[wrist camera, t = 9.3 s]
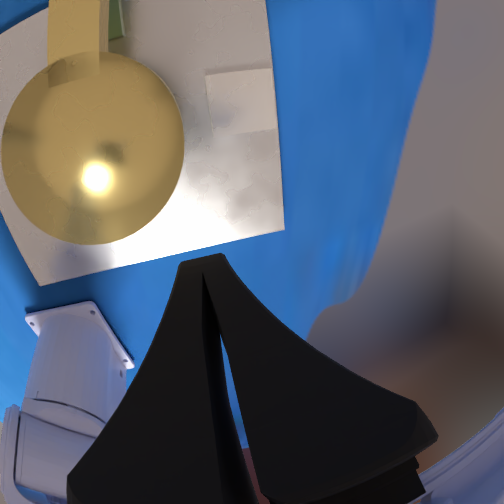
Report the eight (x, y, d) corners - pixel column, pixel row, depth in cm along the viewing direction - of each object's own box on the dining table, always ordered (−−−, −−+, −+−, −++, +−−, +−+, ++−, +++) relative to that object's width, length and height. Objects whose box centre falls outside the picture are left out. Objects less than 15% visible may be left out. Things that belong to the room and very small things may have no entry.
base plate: (279, 222, 21) (301, 255, 18) (43, 278, 18) (28, 316, 15) (255, -34, 10) (277, -59, 7) (-30, 61, 8) (-67, 67, 4)
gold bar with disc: (187, 192, 16) (192, 232, 13) (57, 212, 15) (30, 255, 11) (184, -50, 8) (189, -87, 4) (36, -16, 6) (-1, -33, 3)
